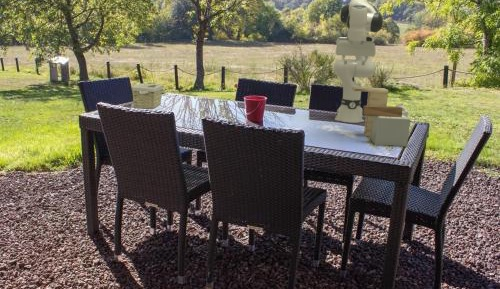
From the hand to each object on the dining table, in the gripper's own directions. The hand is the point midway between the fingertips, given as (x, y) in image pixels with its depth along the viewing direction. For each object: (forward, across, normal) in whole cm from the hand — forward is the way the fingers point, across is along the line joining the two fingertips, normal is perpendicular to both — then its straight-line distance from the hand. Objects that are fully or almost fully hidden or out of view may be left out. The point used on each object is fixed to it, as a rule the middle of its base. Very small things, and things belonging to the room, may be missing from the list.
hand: (354, 64), depth 244 cm
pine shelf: (+39, +12, +8) cm, 42 cm away
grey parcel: (+39, +20, -9) cm, 45 cm away
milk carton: (+39, +27, +4) cm, 48 cm away
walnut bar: (+25, +15, -9) cm, 30 cm away
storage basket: (+39, -129, +65) cm, 150 cm away
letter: (+25, +20, -9) cm, 33 cm away
